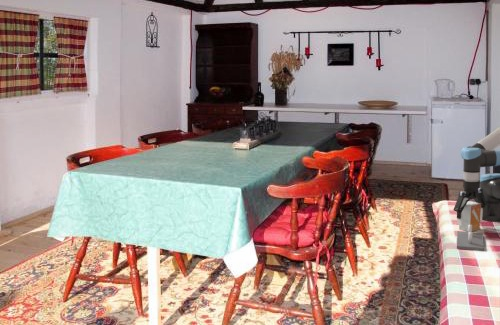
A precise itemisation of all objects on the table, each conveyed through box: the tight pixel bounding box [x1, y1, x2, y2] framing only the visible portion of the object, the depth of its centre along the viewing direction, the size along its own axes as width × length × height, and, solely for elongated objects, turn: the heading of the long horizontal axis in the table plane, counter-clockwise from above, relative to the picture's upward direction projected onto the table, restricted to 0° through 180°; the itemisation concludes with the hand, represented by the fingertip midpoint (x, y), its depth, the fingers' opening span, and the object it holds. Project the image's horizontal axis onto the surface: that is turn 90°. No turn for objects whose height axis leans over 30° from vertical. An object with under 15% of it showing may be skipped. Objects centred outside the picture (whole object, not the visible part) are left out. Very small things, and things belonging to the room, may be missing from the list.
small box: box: [458, 200, 481, 232], centre depth 268 cm, size 8×6×13 cm
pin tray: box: [456, 225, 485, 252], centre depth 250 cm, size 22×11×6 cm, turn 159°
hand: (469, 222), depth 268 cm, fingers open, 13 cm apart
